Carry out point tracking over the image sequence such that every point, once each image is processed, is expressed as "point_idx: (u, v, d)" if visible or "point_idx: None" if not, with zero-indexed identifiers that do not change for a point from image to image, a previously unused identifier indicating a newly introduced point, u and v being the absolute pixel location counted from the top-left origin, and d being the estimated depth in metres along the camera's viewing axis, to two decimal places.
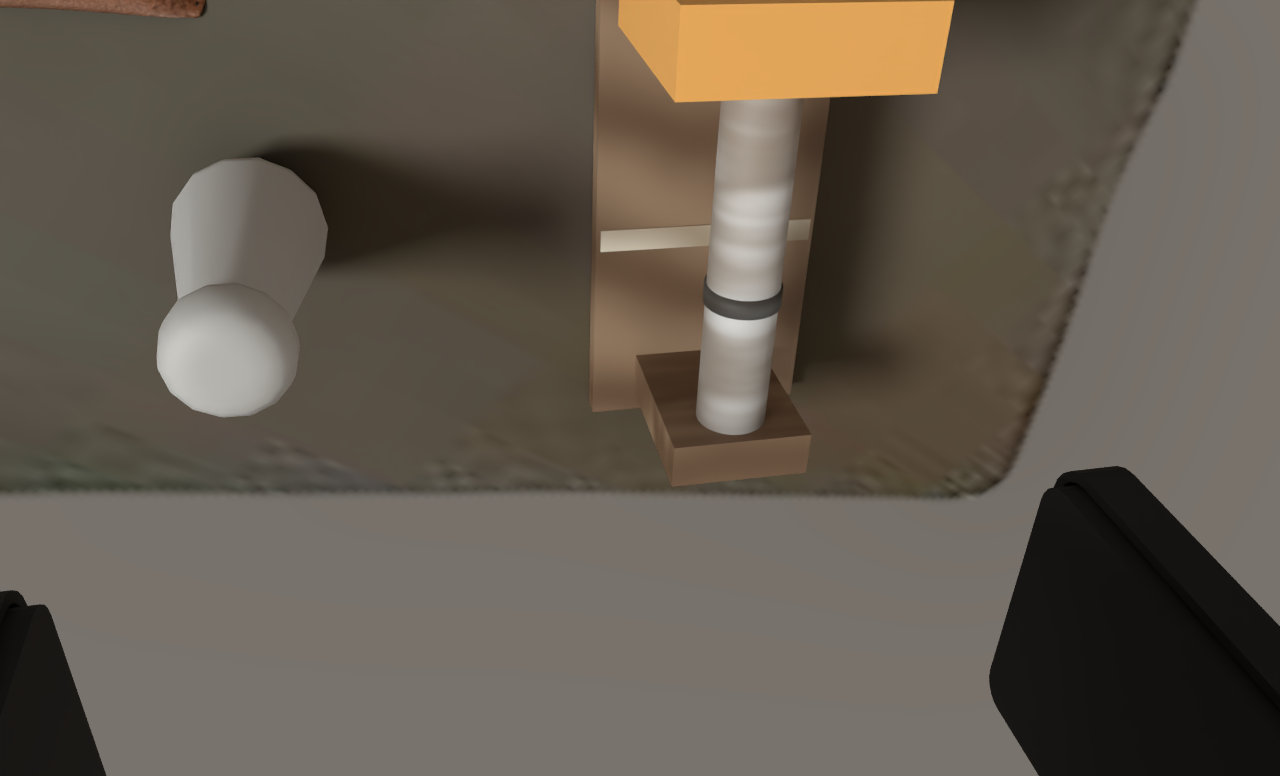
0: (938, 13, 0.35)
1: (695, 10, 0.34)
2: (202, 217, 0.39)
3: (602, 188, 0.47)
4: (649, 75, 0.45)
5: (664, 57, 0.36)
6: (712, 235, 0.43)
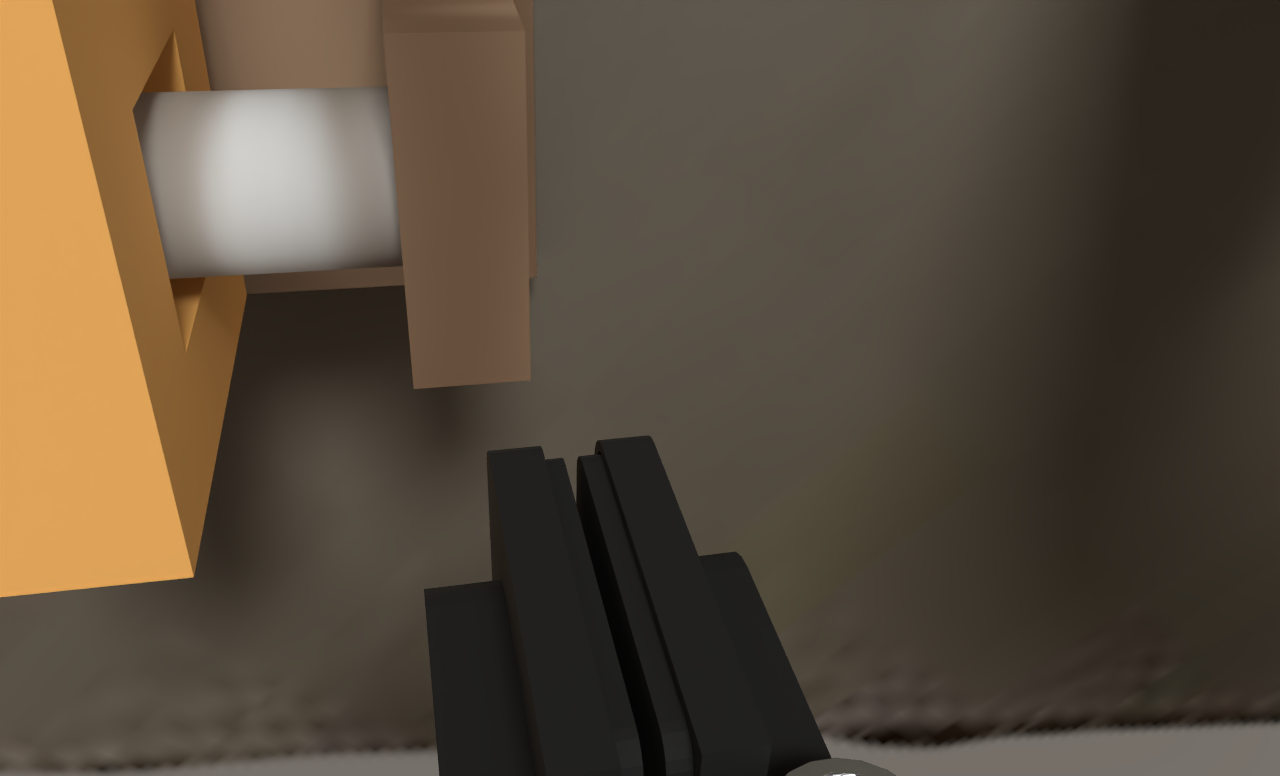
0: (160, 556, 0.17)
1: (39, 10, 0.12)
2: None
3: None
4: None
5: None
6: None
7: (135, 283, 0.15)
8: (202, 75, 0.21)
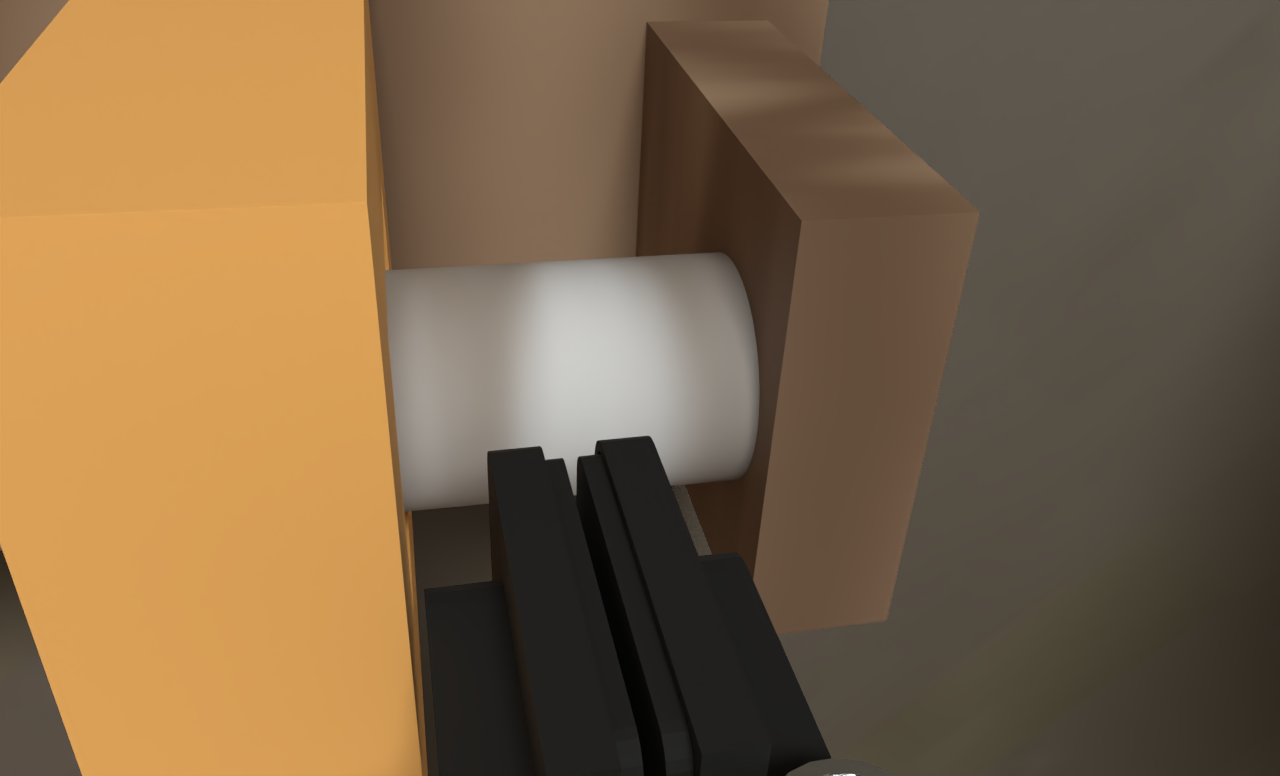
0: None
1: (348, 266, 0.08)
2: None
3: None
4: None
5: (93, 128, 0.09)
6: None
7: (406, 590, 0.10)
8: None
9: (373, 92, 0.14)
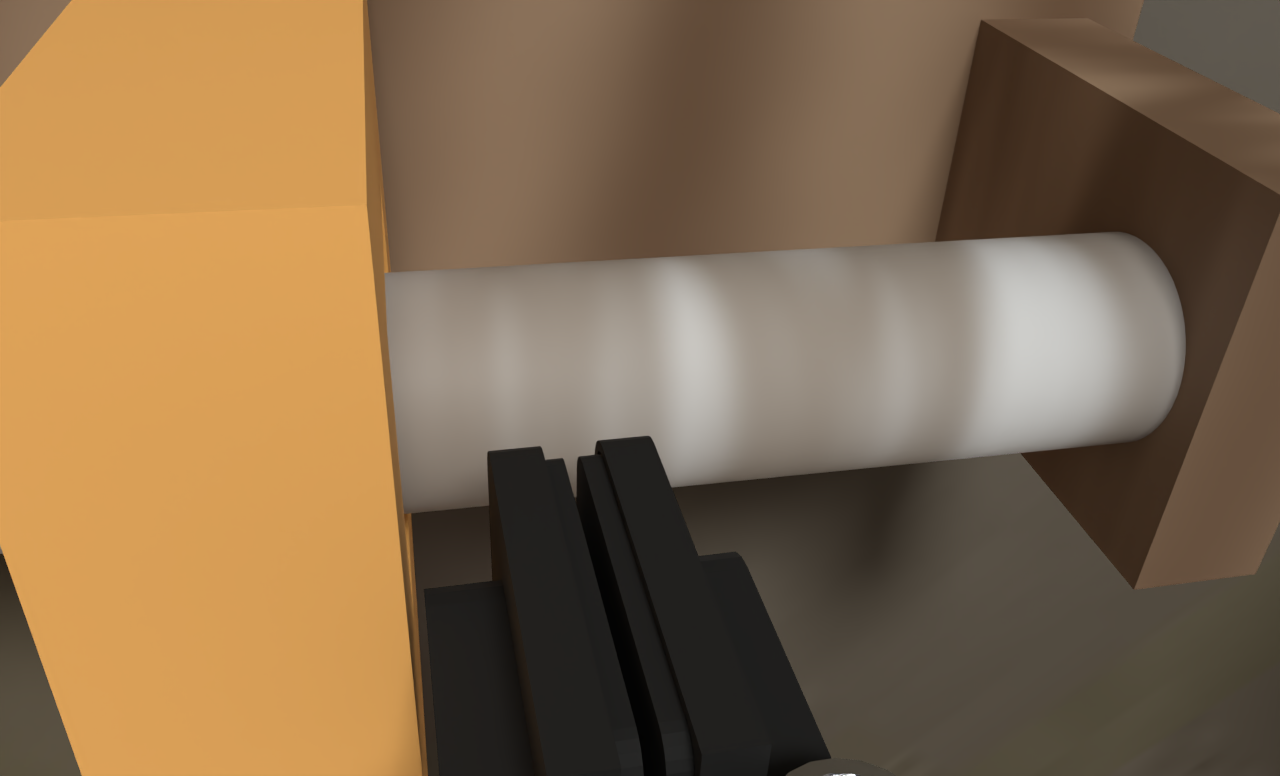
0: None
1: (349, 267, 0.08)
2: None
3: None
4: (453, 30, 0.17)
5: (93, 132, 0.09)
6: None
7: (406, 592, 0.11)
8: None
9: (372, 95, 0.14)
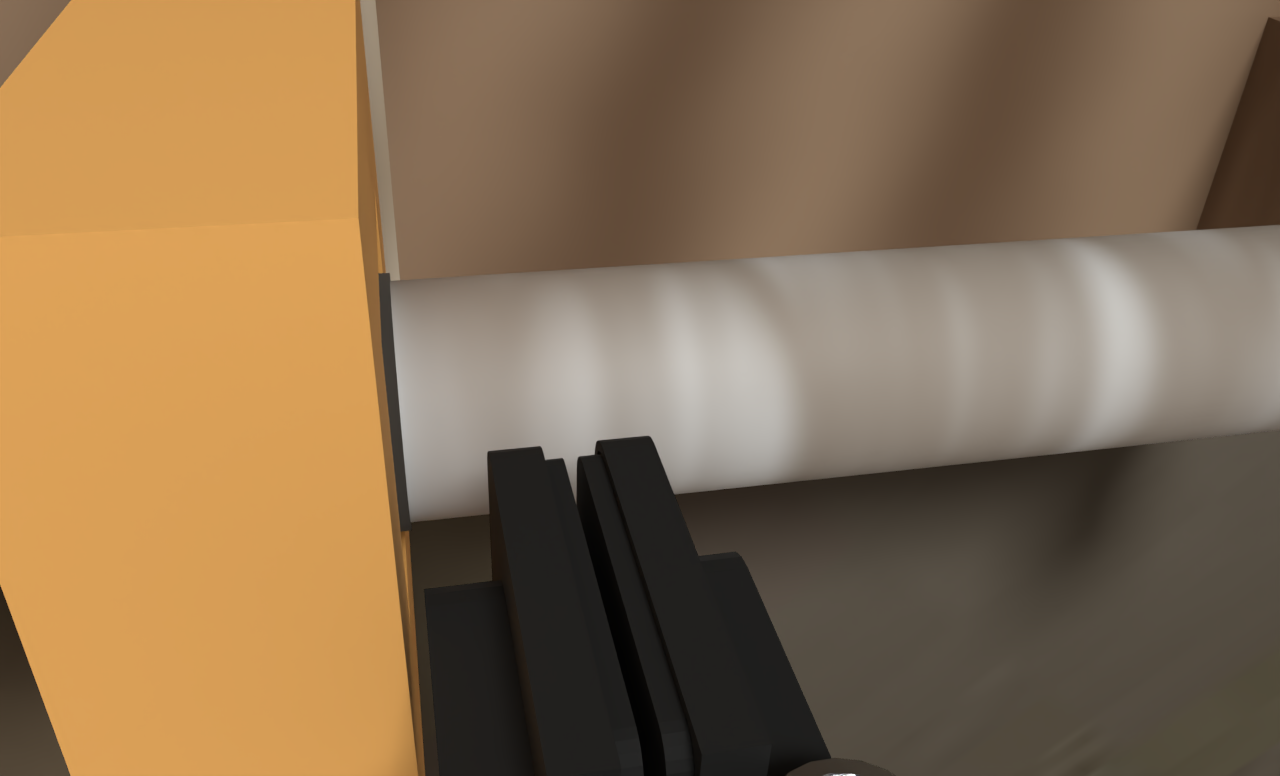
0: None
1: (342, 282, 0.08)
2: None
3: None
4: (800, 29, 0.18)
5: (83, 145, 0.09)
6: (580, 285, 0.13)
7: (402, 604, 0.10)
8: None
9: (366, 103, 0.14)
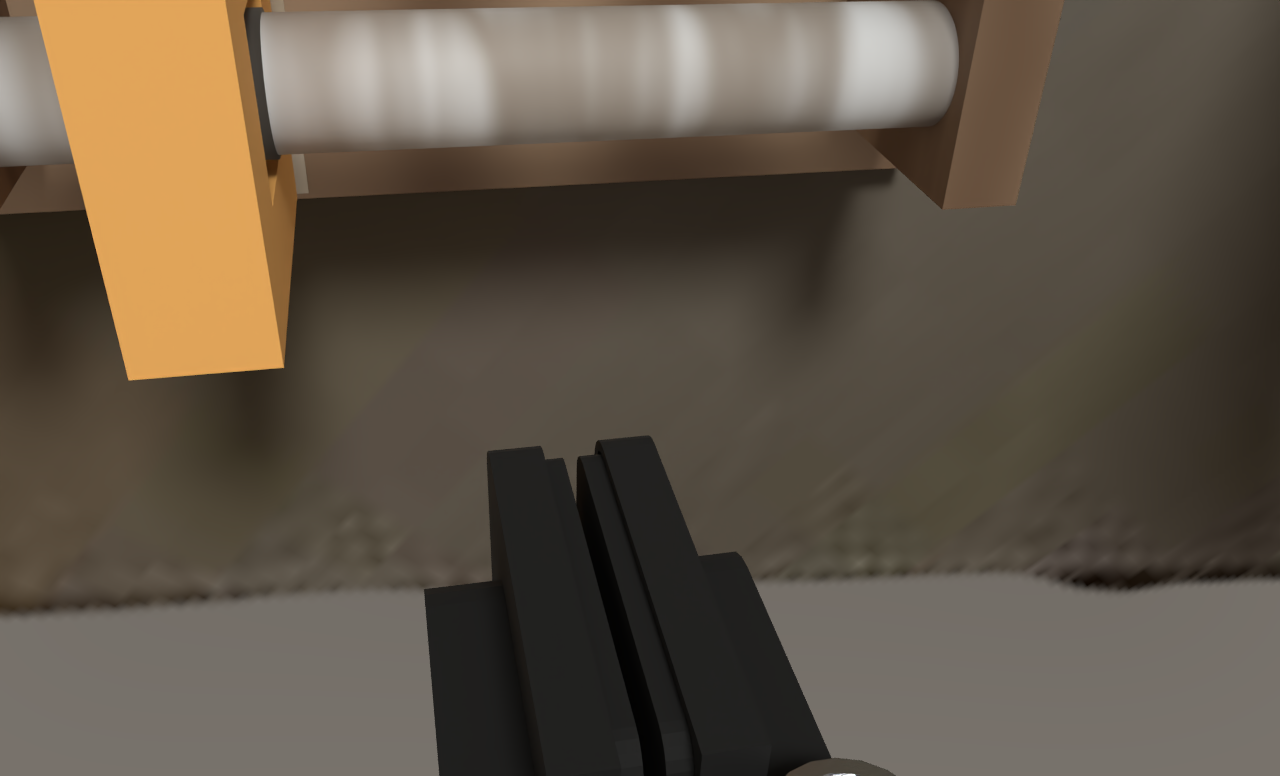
0: (260, 349, 0.23)
1: None
2: None
3: None
4: None
5: None
6: (369, 13, 0.24)
7: (250, 135, 0.21)
8: (269, 11, 0.27)
9: None
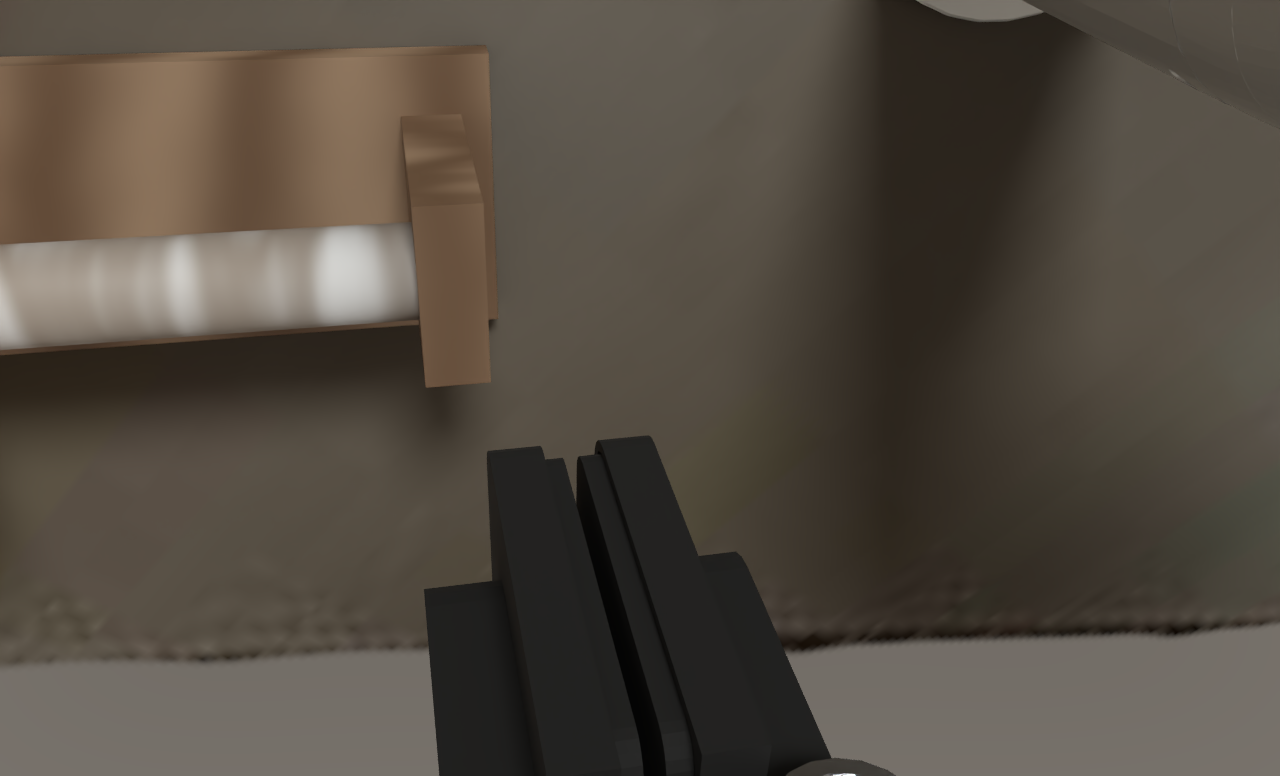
0: None
1: None
2: None
3: None
4: (119, 128, 0.35)
5: None
6: None
7: None
8: None
9: None
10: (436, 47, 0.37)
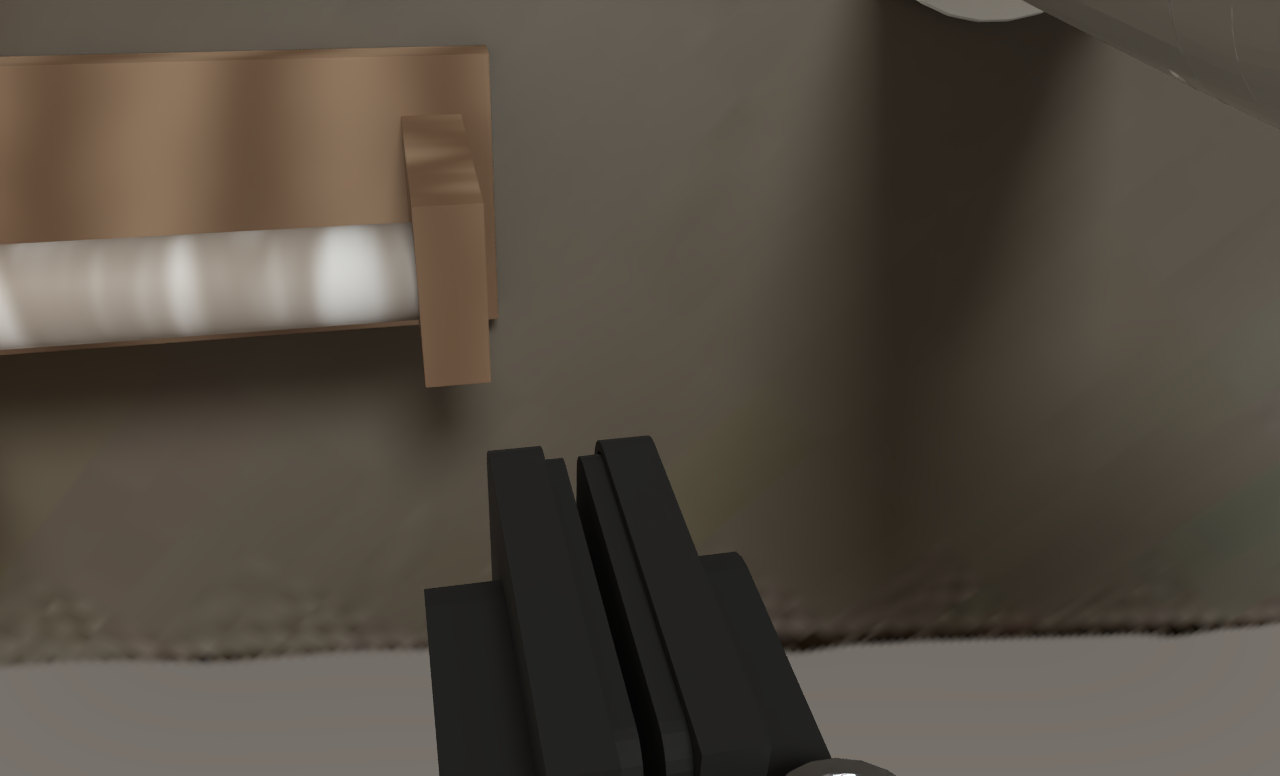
0: None
1: None
2: None
3: None
4: (119, 128, 0.35)
5: None
6: None
7: None
8: None
9: None
10: (436, 47, 0.37)
